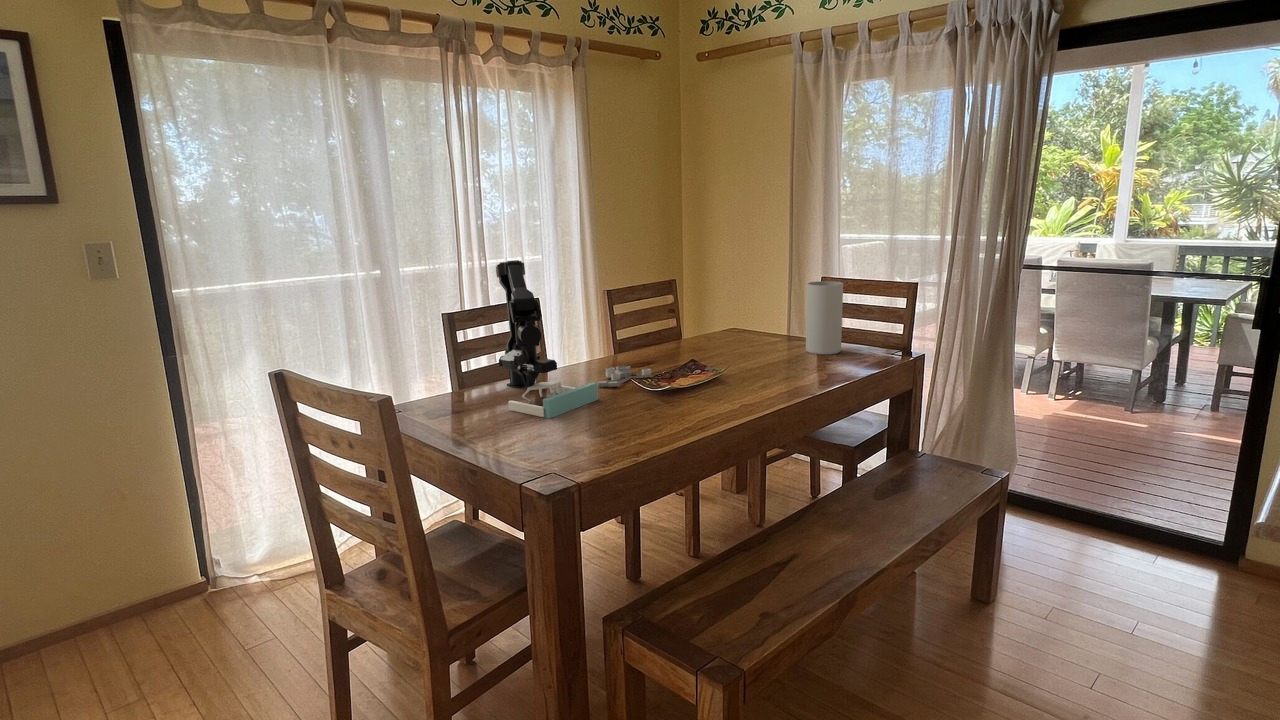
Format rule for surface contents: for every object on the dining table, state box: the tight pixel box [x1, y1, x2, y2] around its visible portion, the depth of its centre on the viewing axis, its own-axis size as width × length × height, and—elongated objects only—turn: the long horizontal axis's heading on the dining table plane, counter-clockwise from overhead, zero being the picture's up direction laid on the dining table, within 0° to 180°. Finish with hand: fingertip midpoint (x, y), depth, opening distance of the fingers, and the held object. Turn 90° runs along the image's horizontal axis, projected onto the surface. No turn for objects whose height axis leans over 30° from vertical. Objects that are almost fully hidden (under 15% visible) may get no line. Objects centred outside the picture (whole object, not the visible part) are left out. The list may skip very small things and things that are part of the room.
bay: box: [508, 381, 599, 419], centre depth 203 cm, size 16×21×5 cm
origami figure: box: [521, 381, 565, 404], centre depth 207 cm, size 12×8×5 cm
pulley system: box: [597, 365, 665, 388], centre depth 229 cm, size 27×5×15 cm
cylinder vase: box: [805, 280, 844, 356], centre depth 257 cm, size 12×12×25 cm
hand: (529, 391), depth 208 cm, fingers closed
